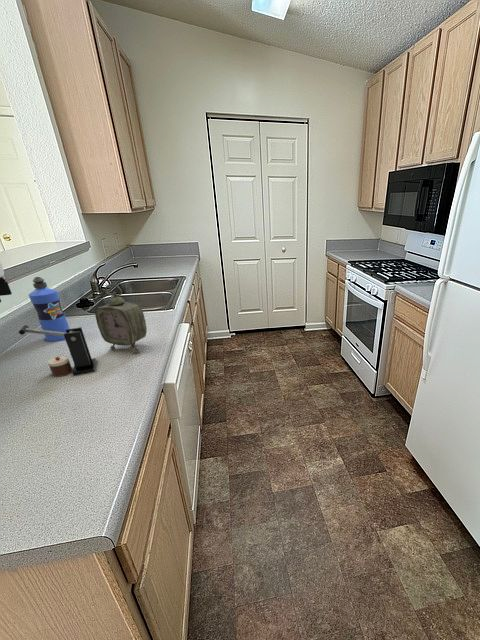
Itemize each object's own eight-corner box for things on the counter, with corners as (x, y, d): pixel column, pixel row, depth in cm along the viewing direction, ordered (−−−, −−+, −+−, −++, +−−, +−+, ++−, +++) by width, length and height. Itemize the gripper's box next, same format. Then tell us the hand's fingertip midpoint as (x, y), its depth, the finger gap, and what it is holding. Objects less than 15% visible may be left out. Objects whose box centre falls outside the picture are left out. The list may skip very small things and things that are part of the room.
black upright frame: (73, 375, 109) (59, 336, 103) (77, 364, 116) (64, 327, 110) (94, 371, 111) (81, 333, 105) (96, 361, 119) (84, 324, 112)
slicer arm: (18, 335, 100) (18, 328, 99) (22, 330, 104) (23, 323, 103) (78, 342, 108) (79, 335, 107) (80, 337, 112) (80, 330, 111)
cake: (51, 377, 108) (45, 362, 105) (54, 370, 113) (48, 355, 110) (71, 374, 110) (65, 358, 108) (73, 367, 115) (68, 352, 112)
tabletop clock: (105, 351, 126) (85, 286, 115) (122, 342, 134) (105, 280, 123) (137, 355, 122) (120, 288, 111) (153, 345, 130) (138, 282, 119)
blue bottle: (76, 334, 141) (56, 276, 130) (53, 342, 134) (30, 281, 123) (63, 331, 145) (43, 274, 134) (41, 338, 138) (17, 278, 127)
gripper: (-30, 236, 98) (-6, 293, 105) (-58, 242, 83) (-28, 308, 91) (2, 235, 100) (23, 290, 108) (-21, 241, 86) (6, 304, 94)
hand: (0, 298), depth 99 cm, fingers open, 9 cm apart
